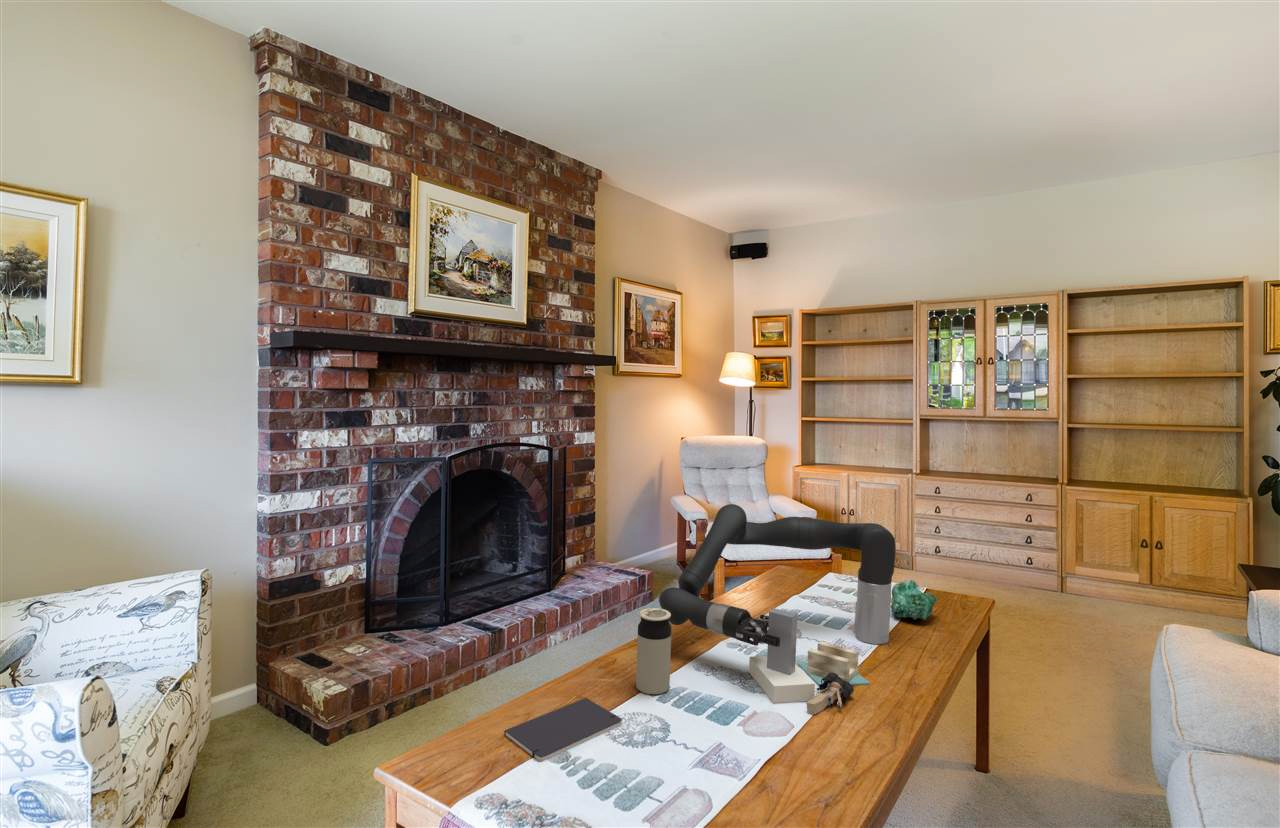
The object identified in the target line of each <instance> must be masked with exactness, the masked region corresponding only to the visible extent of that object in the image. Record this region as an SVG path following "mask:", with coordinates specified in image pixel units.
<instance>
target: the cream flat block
mask: <svg viewBox="0 0 1280 828" xmlns="http://www.w3.org/2000/svg"><path fill="white" fill-rule="evenodd" d="M748 673H749V674H750V675H751V677H752V678H753V679H754V680H755V682H756V683H757V684H758V686H759V687H760V688H761V689H762V691H763V692H764V693H765V694H766V695H767V697H768V698H769V700H770V701H771V702H772V703H773V704H781V703H782V704H785V703H797V702H809V701H810V700H811V698H812V697H813V696H814V697H815V691H816V690H815V689H816V682H815V681H814V680H813V679H812V678H811V677H810V676H809V675H808V674H807V673H806V672H805V671H804V670H803V669H802V668H801V667H800V666H799V665H798V664H797V663H795V672H793V673H792V674H791V675H787V674H784V673H780V672H777V671H774V670H771V669H768V668H767V655H763V656H762V655H761V656H760V655H758V656H749V666H748Z"/></svg>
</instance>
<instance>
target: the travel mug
mask: <svg viewBox="0 0 1280 828" xmlns="http://www.w3.org/2000/svg"><path fill="white" fill-rule="evenodd" d="M638 616H640V617H639V618H640V621H639V623H638V625H637V642H636V643H637V647H636V674H635V675H636V676H635V677H636V679H635V682H636V683H635V687H636V688H637V690H638V691H640V692H642V693H644V694H647V695H661V694H663V693H666V692H667V691H669V690H670V685H671V684H670V682H671V658H672V657H671V649H672V626H671V625H672V624H671V623H670V622H669V618H670V616H671V614H670V612H669V611H667V610H664V609H662V608H659V607H650V608H644V609H641V610H640V611H639V614H638Z"/></svg>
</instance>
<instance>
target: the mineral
mask: <svg viewBox="0 0 1280 828" xmlns="http://www.w3.org/2000/svg"><path fill="white" fill-rule="evenodd" d="M937 601H938V600H937V597H936V596H935V595H934V594H931V593H930V592H926V593H925V592H924V593H923V592H922V591H921V590H920V589H919V584H918V583H917V582H916V581H915V580H914V579H910V580H904V581H901V582H899V583H896V584H894V586H893V587H891V604H890V612H891V613H892V614H894V615H895V616H897V617H899V618H912V619H913V620H915V621H916V620H917V619H920V620H919V621H920V622H923V621H927V618H929V617H930V616H931V615H932V613H933V607H934V606H935V604H936V603H937Z"/></svg>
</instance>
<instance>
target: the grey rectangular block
mask: <svg viewBox="0 0 1280 828" xmlns="http://www.w3.org/2000/svg"><path fill="white" fill-rule="evenodd" d="M768 616H769V625H768V627H767V630H768V634H770V635H773V636H777V637H779V638H780V646H779V647H775V646H772V645H768V644H767V653H766V654H767V655H766V656H767V668H768V669H771V670H774V671H777V672H780V673H784V674H787V675H791V674H792V673H793V672H795V664H796V655H797V633H798V614H797V613H795V612H791V611H790V612H789V611H786V610H782V609H779V608H772V609H771V610H769V611H768Z"/></svg>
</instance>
